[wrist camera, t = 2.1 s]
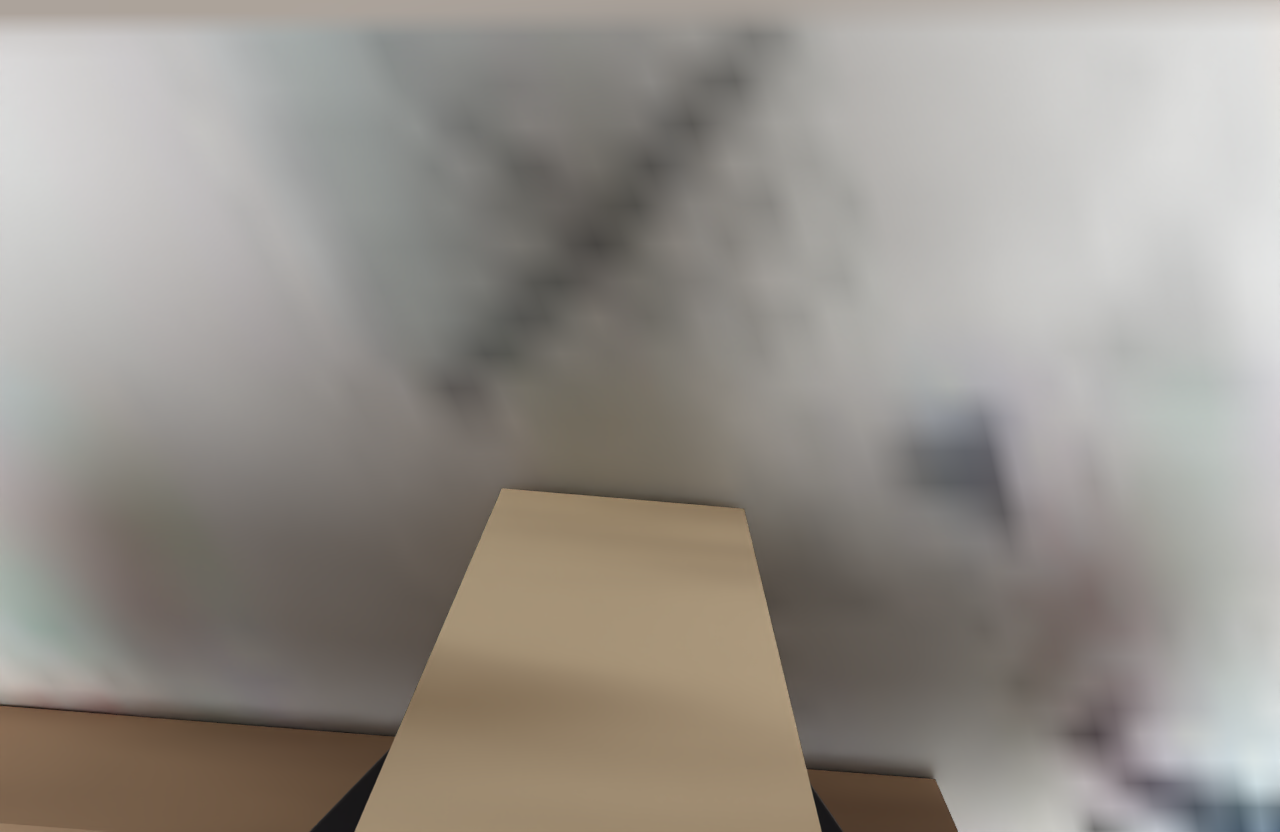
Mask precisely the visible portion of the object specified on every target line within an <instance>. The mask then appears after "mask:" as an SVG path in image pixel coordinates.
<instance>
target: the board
mask: <svg viewBox="0 0 1280 832" xmlns="http://www.w3.org/2000/svg"><path fill="white" fill-rule="evenodd" d="M394 739H395V737H391V736H378V735H365V734H353V733H340V732H327V731H314V730H302V729H289V728H276V727H263V726H251V725H238V724H225V723H212V722H200V721H187V720H174V719H161V718H149V717H136V716H123V715H110V714H98V713H85V712H72V711H59V710H47V709H34V708H21V707H8V706H0V832H309V831H310V830H311V829H312V828H313V827H314V826H315V825H316V824H317V823H318V822H319V821H320V820H321V819H322V818H323V817H324V816H325V815H326V814H327V813H328V812H329V811H330V810H331V808H332V807H333V806H334V805H335V804H336V803H337V802H338V801H339V800H340V799H341V798H342V797H343V796H344V795H345V794H346V793H347V792H348V791H349V790H350V789H351V788H352V787H353V786H354V785H355V784H356V783H357V782H358V781H359V780H360V779H361V778H362V776H363V775H364V774H365V773H366V772H367V771H368V770H369V769H370V768H371V767H372V766H373V765H374V764H375V763H376V762H377V761H378V760H379V759H380V758H381V757H382V756H383V755H384V754H385V753H386V752H387V751H388V750H389V749H390V748H391V746H392V743H393V741H394ZM807 773H808V777H809V781H810V783H811V785H812V786H813V788H814V789H815V791H816V792H817V794H818V795H819V796H820V798H821V799H822V801H823V802H824V804H825V805H826V807H827V808H828V810H829V811H830V812H831V814H832V815H833V817H834V818H835V820H836V821H837V823H838V824H839V826H840V827H841V829H842V830H843V831H844V832H958V830H957V828H956V826H955V824H954V821H953V819H952V817H951V814H950V812H949V810H948V808H947V805H946V803H945V801H944V798H943V796H942V794H941V791H940V789H939V787H938V785H937V782H936V780H935V779H927V778H914V777H901V776H888V775H876V774H863V773H850V772H837V771H825V770H812V769H807Z"/></svg>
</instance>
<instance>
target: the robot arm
mask: <svg viewBox="0 0 1280 832" xmlns="http://www.w3.org/2000/svg"><path fill="white" fill-rule="evenodd" d="M389 750H390V749H389ZM389 750H388V751H387V752H386V753H385V754H384V755H383V756H382V757H381V758H380V759H379V760H378V761H377V762H376V763H375V764H374V765H373V766H372V767H371V768H370V769H369V770H368V771H367V772H366V773H365V774H364V775H363V776H362V778H361V779H360V780H359V781H358V782H357V783H356V784H355V785H354V786H353V787H352V788H351V789H350V790H349V791H348V792H347V793H346V794H345V795H344V796H343V797H342V798H341V799H340V800H339V801H338V802H337V803H336V804H335V805H334V806H333V807H332V808H331V810H330V811H329V812H328V813H327V814H326V815H325V816H324V817H323V818H322V819H321V820H320V821H319V822H318V823H317V824H316V825H315V826H314V827H313V828H312V829H311V830H310V831H309V832H355V829H356V827H357V825H358V822H359V820H360V818H361V815H362V813H363V811H364V808H365V806H366V804H367V802H368V799H369V797H370V795H371V792H372V790H373V788H374V785H375V783H376V781H377V778H378V776H379V774H380V771H381V769H382V767H383V764H384V762H385V760H386V757H387V755H388V753H389ZM810 786H811V790H812V794H813V798H814V802H815V806H816V811H817V815H818V819H819V823H820V827H821V831H822V832H844V831H843V830H842V829H841V827H840V826H839V824H838V823H837V821H836V820H835V818H834V817H833V815H832V814H831V812H830V811H829V810H828V808H827V807H826V805H825V804H824V802H823V801H822V799H821V798H820V796H819V795H818V794H817V792H816V791H815V789H814V788H813V786H812V785H811V783H810Z"/></svg>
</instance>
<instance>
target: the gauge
mask: <svg viewBox="0 0 1280 832" xmlns="http://www.w3.org/2000/svg"><path fill="white" fill-rule="evenodd" d="M355 832H822V831H821V827H820V823H819V819H818V815H817V811H816V806H815V802H814V798H813V794H812V790H811V786H810V781H809V777H808V773H807V769H806V765H805V761H804V756H803V752H802V748H801V744H800V740H799V736H798V731H797V727H796V723H795V719H794V715H793V711H792V706H791V702H790V698H789V694H788V690H787V686H786V681H785V677H784V673H783V669H782V665H781V661H780V656H779V652H778V648H777V644H776V640H775V636H774V631H773V627H772V623H771V619H770V615H769V611H768V606H767V602H766V598H765V594H764V590H763V586H762V581H761V577H760V573H759V569H758V565H757V561H756V556H755V552H754V548H753V544H752V540H751V536H750V531H749V527H748V523H747V519H746V515H745V511H744V509H741V508H729V507H717V506H705V505H694V504H682V503H670V502H658V501H646V500H634V499H623V498H611V497H599V496H587V495H575V494H563V493H552V492H540V491H528V490H516V489H504V488H502V489H501V492H500V494H499V496H498V499H497V501H496V503H495V506H494V508H493V510H492V513H491V515H490V517H489V520H488V522H487V524H486V527H485V529H484V531H483V534H482V536H481V538H480V541H479V543H478V545H477V548H476V550H475V552H474V555H473V557H472V559H471V561H470V564H469V566H468V568H467V571H466V573H465V575H464V578H463V580H462V582H461V585H460V587H459V589H458V592H457V594H456V596H455V599H454V601H453V603H452V606H451V608H450V610H449V613H448V615H447V617H446V620H445V622H444V624H443V627H442V629H441V631H440V634H439V636H438V638H437V641H436V643H435V645H434V648H433V650H432V652H431V655H430V657H429V659H428V662H427V664H426V666H425V669H424V671H423V673H422V676H421V678H420V680H419V683H418V685H417V687H416V690H415V692H414V694H413V697H412V699H411V701H410V704H409V706H408V708H407V711H406V713H405V715H404V718H403V720H402V722H401V725H400V727H399V729H398V732H397V734H396V736H395V739H394V741H393V743H392V746H391V748H390V750H389V753H388V755H387V757H386V760H385V762H384V764H383V767H382V769H381V771H380V774H379V776H378V778H377V781H376V783H375V785H374V788H373V790H372V792H371V795H370V797H369V799H368V802H367V804H366V806H365V808H364V811H363V813H362V815H361V818H360V820H359V822H358V825H357V827H356V829H355Z"/></svg>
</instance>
